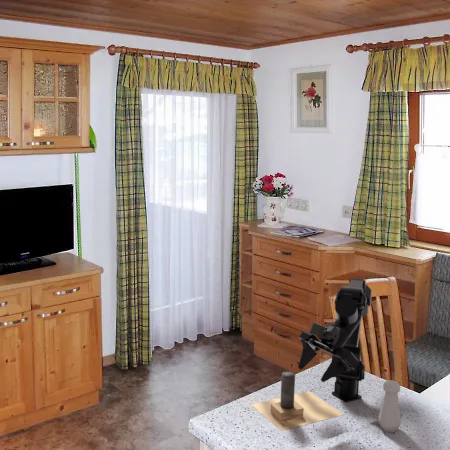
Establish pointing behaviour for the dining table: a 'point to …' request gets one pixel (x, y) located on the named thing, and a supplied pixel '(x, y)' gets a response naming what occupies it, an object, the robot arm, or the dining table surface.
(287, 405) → the rubber stamp
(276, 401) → the pine board
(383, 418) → the salt shaker
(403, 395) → the dining table surface
